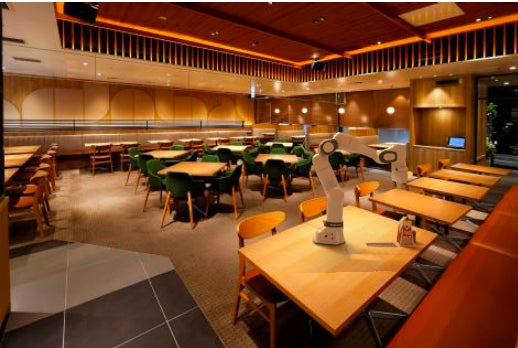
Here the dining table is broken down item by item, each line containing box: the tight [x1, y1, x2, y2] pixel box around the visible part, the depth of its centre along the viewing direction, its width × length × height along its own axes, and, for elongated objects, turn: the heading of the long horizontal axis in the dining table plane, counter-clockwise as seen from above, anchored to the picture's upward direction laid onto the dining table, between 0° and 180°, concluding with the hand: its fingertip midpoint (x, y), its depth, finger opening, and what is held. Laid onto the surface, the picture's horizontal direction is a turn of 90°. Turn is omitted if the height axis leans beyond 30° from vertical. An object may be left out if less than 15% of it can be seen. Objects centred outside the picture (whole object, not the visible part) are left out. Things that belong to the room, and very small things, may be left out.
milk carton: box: [396, 215, 415, 248], centre depth 194 cm, size 9×9×20 cm
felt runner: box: [365, 241, 398, 248], centre depth 195 cm, size 19×9×1 cm, turn 82°
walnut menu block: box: [412, 229, 417, 243], centre depth 199 cm, size 4×4×8 cm
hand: (399, 188), depth 193 cm, fingers closed
